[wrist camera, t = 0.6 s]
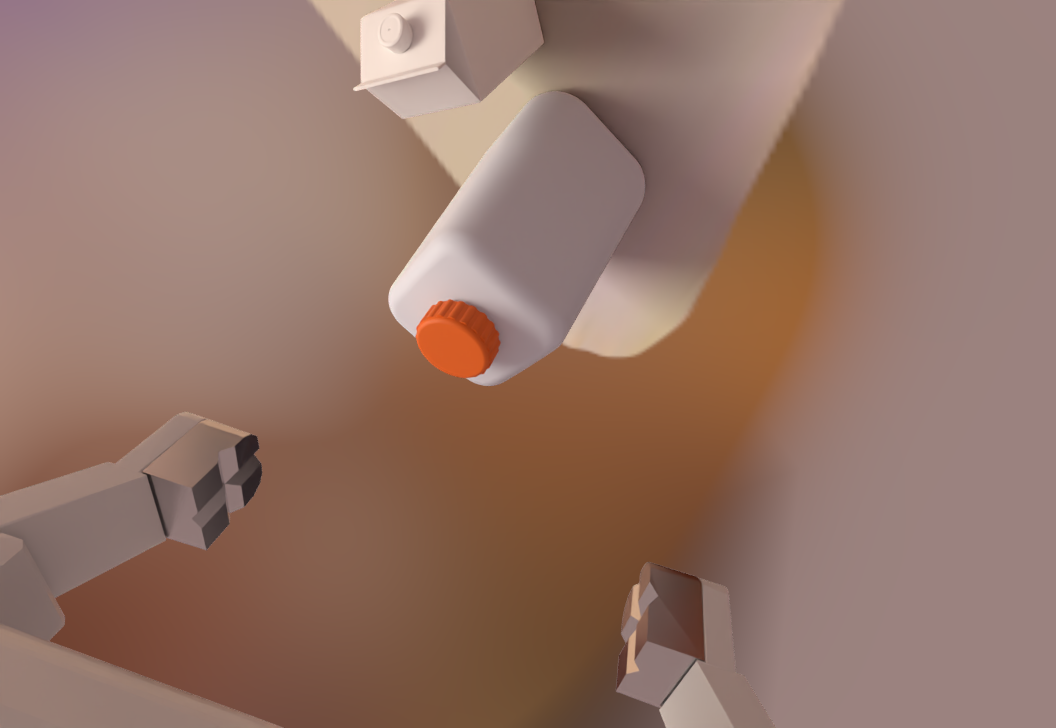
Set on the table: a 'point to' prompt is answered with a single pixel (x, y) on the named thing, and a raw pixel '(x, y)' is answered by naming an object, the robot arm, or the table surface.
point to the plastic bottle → (520, 243)
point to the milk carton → (444, 51)
